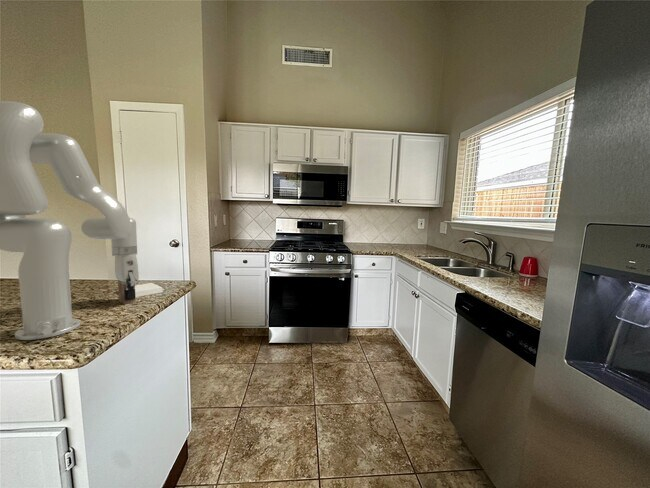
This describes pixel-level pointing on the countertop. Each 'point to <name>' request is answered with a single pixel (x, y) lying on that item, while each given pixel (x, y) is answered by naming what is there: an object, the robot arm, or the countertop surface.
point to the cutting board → (147, 289)
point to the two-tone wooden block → (121, 293)
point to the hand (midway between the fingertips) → (127, 297)
